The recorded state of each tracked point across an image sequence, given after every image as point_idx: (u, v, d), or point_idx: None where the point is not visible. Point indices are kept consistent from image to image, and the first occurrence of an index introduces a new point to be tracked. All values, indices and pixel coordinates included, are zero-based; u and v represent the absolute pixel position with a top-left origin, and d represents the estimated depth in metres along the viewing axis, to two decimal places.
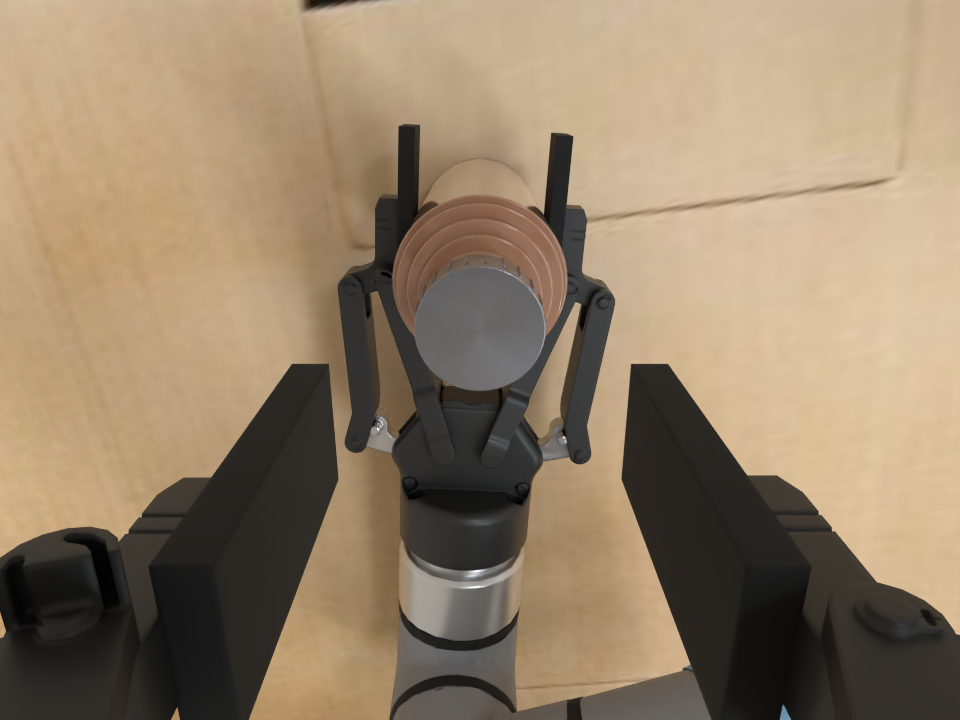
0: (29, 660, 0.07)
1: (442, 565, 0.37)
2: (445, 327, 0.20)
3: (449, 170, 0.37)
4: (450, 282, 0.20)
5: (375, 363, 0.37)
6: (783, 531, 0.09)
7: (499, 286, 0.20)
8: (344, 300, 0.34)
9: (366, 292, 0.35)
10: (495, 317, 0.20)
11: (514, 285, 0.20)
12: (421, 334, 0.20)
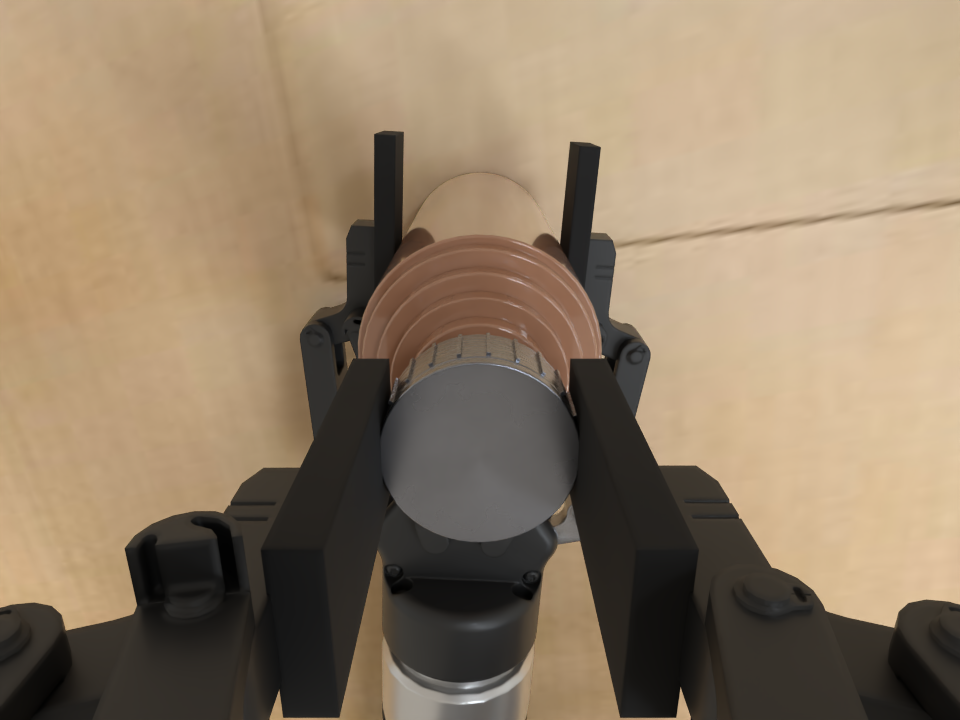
0: (158, 636, 0.07)
1: (433, 676, 0.30)
2: (426, 452, 0.13)
3: (442, 187, 0.30)
4: (433, 386, 0.13)
5: None
6: (680, 517, 0.09)
7: (510, 392, 0.13)
8: (308, 353, 0.27)
9: (336, 342, 0.28)
10: (503, 438, 0.13)
11: (533, 391, 0.13)
12: (389, 462, 0.13)
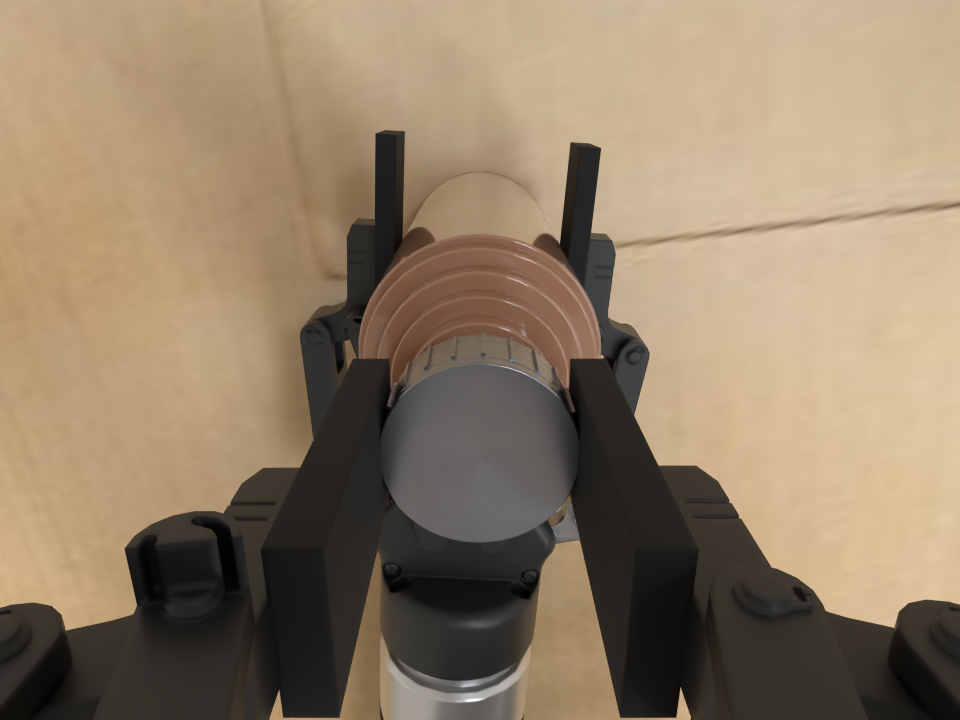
0: (158, 635, 0.07)
1: (431, 674, 0.30)
2: (484, 503, 0.13)
3: (442, 187, 0.30)
4: (414, 508, 0.14)
5: None
6: (680, 517, 0.09)
7: (403, 444, 0.13)
8: (308, 351, 0.27)
9: (336, 341, 0.28)
10: (453, 441, 0.13)
11: (397, 424, 0.13)
12: (501, 532, 0.14)
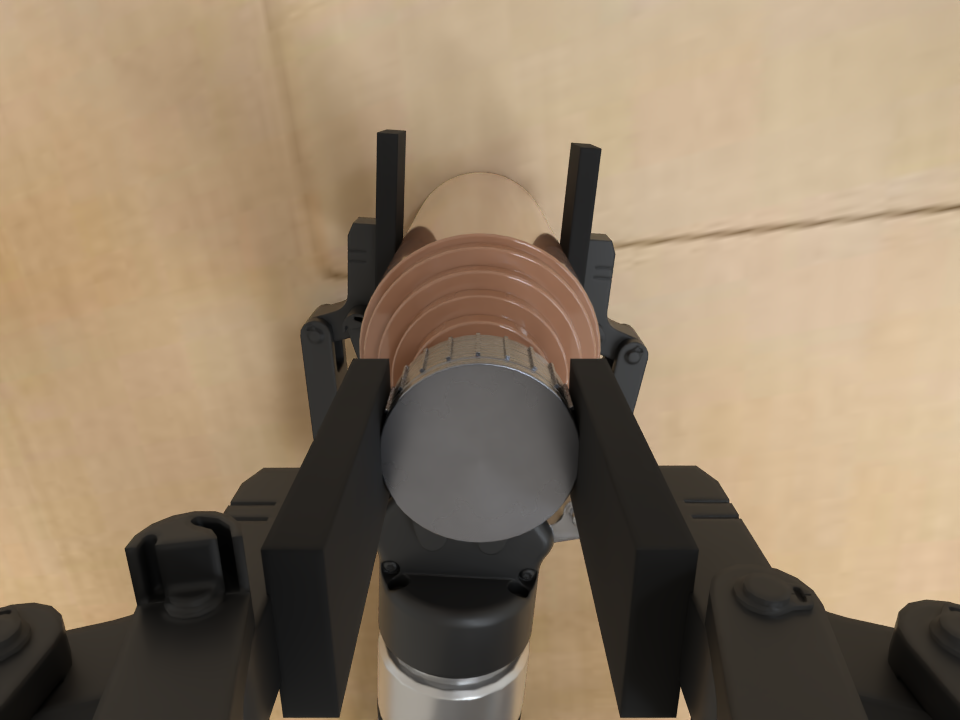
0: (158, 635, 0.07)
1: (429, 672, 0.30)
2: (531, 445, 0.13)
3: (443, 186, 0.30)
4: (548, 504, 0.14)
5: None
6: (680, 517, 0.09)
7: (479, 523, 0.14)
8: (308, 349, 0.27)
9: (337, 339, 0.28)
10: (466, 483, 0.13)
11: (459, 530, 0.14)
12: (563, 422, 0.13)
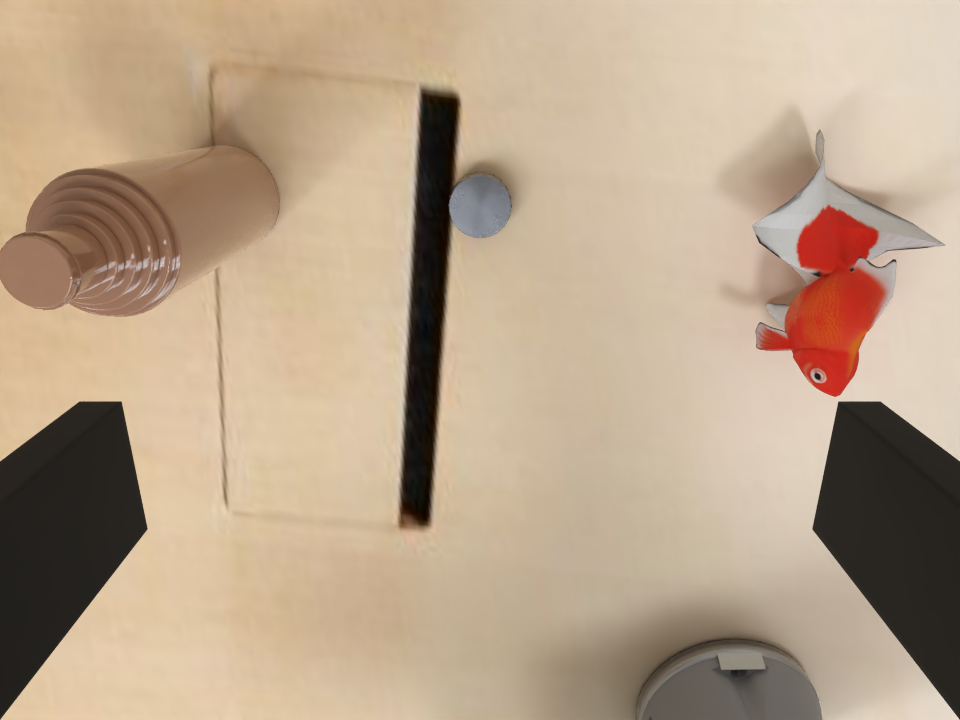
0: None
1: None
2: (467, 217, 0.43)
3: (266, 185, 0.42)
4: (453, 199, 0.43)
5: None
6: None
7: (471, 184, 0.43)
8: None
9: None
10: (480, 197, 0.43)
11: (475, 179, 0.43)
12: (461, 227, 0.44)
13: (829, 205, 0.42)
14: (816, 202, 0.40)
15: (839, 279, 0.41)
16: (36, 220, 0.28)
